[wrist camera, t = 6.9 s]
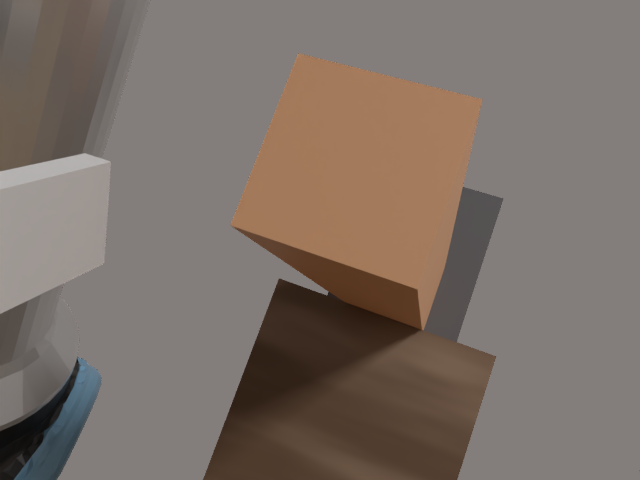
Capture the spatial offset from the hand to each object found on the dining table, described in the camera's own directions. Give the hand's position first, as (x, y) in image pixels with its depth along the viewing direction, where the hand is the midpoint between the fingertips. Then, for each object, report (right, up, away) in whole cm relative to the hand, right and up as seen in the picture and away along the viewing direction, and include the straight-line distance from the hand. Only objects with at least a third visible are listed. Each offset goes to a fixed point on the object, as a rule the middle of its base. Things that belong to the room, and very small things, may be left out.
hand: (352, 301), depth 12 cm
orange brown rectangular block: (+2, -2, +10) cm, 11 cm away
